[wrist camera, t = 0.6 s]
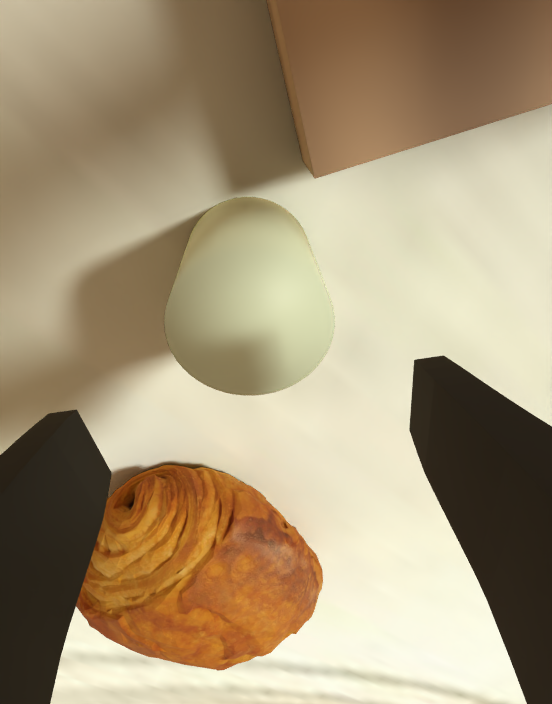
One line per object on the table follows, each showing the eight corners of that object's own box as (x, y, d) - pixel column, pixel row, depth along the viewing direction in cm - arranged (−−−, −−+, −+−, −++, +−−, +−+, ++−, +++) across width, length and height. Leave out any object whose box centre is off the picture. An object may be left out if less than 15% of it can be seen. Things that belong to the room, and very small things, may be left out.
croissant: (243, 399, 24) (234, 507, 16) (342, 560, 30) (367, 689, 23) (41, 485, 26) (-43, 612, 19) (172, 618, 32) (147, 751, 25)
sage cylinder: (292, 179, 15) (313, 224, 10) (321, 296, 18) (348, 372, 13) (166, 219, 16) (132, 278, 11) (213, 327, 18) (202, 411, 14)
